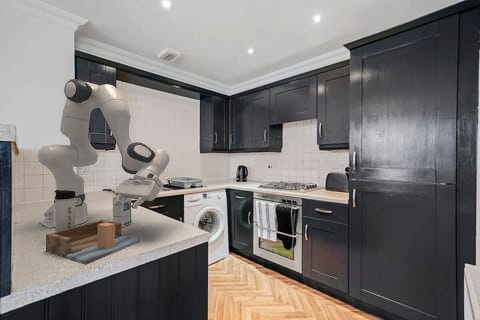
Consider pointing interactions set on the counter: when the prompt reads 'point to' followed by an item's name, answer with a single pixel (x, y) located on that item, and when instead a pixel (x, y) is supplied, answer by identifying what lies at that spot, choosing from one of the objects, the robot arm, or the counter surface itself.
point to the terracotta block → (106, 235)
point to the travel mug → (64, 209)
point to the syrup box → (122, 211)
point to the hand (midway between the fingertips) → (124, 206)
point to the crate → (85, 242)
